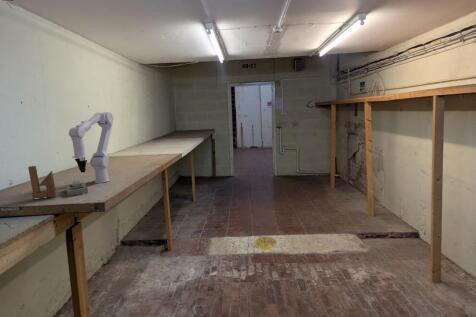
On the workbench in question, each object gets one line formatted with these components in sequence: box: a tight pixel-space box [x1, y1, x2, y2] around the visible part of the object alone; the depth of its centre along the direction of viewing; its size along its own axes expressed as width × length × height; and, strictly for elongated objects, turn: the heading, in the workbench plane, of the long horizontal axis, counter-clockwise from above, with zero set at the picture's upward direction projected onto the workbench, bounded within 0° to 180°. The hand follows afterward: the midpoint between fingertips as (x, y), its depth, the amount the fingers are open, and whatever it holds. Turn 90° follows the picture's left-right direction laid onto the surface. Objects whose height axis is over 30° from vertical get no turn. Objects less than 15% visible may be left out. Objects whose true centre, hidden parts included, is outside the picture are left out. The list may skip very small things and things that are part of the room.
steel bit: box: [70, 177, 81, 187], centre depth 193 cm, size 4×4×7 cm
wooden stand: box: [27, 165, 57, 200], centre depth 181 cm, size 4×11×18 cm, turn 107°
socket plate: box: [65, 181, 89, 197], centre depth 191 cm, size 16×10×3 cm, turn 31°
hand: (82, 171), depth 195 cm, fingers open, 7 cm apart
